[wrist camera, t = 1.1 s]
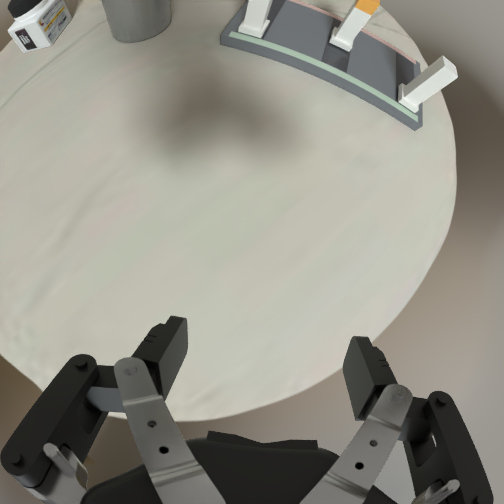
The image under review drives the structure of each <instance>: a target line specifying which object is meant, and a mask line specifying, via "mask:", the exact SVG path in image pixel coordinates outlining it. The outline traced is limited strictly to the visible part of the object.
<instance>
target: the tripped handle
mask: <svg viewBox="0 0 504 504" xmlns="http://www.w3.org/2000/svg"><path fill="white" fill-rule="evenodd" d="M379 5H380V0H356V1H355V2H354V4H353V5H352V7H351V8H350V10H349V11H348V13H347V15H346V16H345V18H344V19H343V21H342V22H341V24H340V26H339V27H338V28H336V27H334V29H333V31H332V34H331V38H330V41H329V43H331V44H334V45H336V46H338V47H340V48H342V49H344V50H346V51H348V52H349V51H350V50H351V49H352V45H353V40H354V38H355V37H356V36H357V34H358V33H359V32H360V30H361V29H362V28H363V26H364V25H365V23H366V22H367V21H368V19H369V18H370V17H371V15H372V14H373V13H374V12H375V10H376V9H377V8H378V6H379Z"/></svg>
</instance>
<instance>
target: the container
mask: <svg viewBox="0 0 504 504" xmlns="http://www.w3.org/2000/svg"><path fill="white" fill-rule="evenodd" d="M8 10H9V11H10V13H11V14H12V16H13V18H14V19H15V22H14V23H13V24H12V26H11V27H10V28H9V30H8V32H9V34H10V35H11V37H12V38H13V39H14V41H15V42H16V43H17V45H18V46H19V48H20V49H21V50H22V52H23V53H26V52H30V51H33V50H37V49H41V48H46V47H50V46H52V45H53V43H54V42H55V41H56V39H57V38H58V36H59V35H60V34H61V32H62V31H63V30H64V28H65V27H66V26H67V24H68V23H69V22H70V21H71V19H72V17H71V15H70V13H69V10H68V8H67V6H66V4H65V1H64V0H11V2H10V3H9V5H8Z"/></svg>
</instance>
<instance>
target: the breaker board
mask: <svg viewBox="0 0 504 504" xmlns="http://www.w3.org/2000/svg"><path fill="white" fill-rule="evenodd" d="M342 21H343V18H341V17H339V16H337V15H334V14H332V13H330V12H328V11H325V10H323V9H320V8H318V7H315V6H313V5H310V4H307V3H305V2H302V1H299V0H247V1H246V2H245V3H244V5H243V6H242V7H241V9H240V10H239V11H238V12H237V14H236V15H235V16H234V18H233V19H232V20H231V22H230V23H229V24H228V26H227V27H226V29H225V30H224V31H223V33H222V34H221V39H220V44H221V45H225V46H229V47H233V48H236V49H240V50H244V51H247V52H250V53H254V54H257V55H260V56H263V57H266V58H269V59H272V60H275V61H278V62H281V63H284V64H286V65H289V66H292V67H294V68H297V69H299V70H302V71H304V72H307V73H309V74H311V75H314V76H316V77H318V78H321V79H323V80H325V81H327V82H329V83H332V84H334V85H336V86H338V87H340V88H342V89H344V90H346V91H348V92H350V93H352V94H354V95H356V96H358V97H360V98H361V99H363V100H365V101H367V102H369V103H370V104H372V105H374V106H376V107H377V108H379V109H381V110H383V111H384V112H386V113H388V114H389V115H391V116H392V117H394V118H396V119H397V120H399V121H400V122H402V123H403V124H405V125H407V126H408V127H410V128H411V129H412V130H414V131H415V130H417V129H419V128H420V127H422V102H423V101H425V100H426V99H427V98H429V97H430V96H432V95H433V94H435V93H436V92H437V91H439V90H440V89H442V88H443V87H445V86H446V85H447V84H449V83H450V82H452V81H453V80H455V79H456V78H458V75H457V71H456V66H454V65H453V64H452V63H451V62H450V61H449V60H447V59H446V58H445V57H444V56H441V57H440V58H439V59H438V60H437V61H435V62H434V63H433V64H432V65H430V66H429V67H428V68H427V69H425V70H424V71H423V72H422V73H421V71H420V63H418V62H417V61H416V60H414V59H413V58H411V57H410V56H408V55H407V54H405V53H404V52H402V51H401V50H399V49H398V48H396V47H395V46H393V45H391V44H390V43H388V42H386V41H385V40H383V39H381V38H380V37H378V36H376V35H374V34H373V33H371V32H369V31H367V30H365V29H363V28H362V29H361V30H360V32H359V33H358V34H357V36H356V37H355V38H354V40H353V45H352V49H351V50H350V51H349V52H348V51H346V50H344V49H342V48H340V47H338V46H336V45H334V44H331V43H329V41H330V38H331V34H332V31H333V29H334V27H336V28H338V27H339V26H340V24H341V22H342Z"/></svg>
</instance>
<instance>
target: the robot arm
mask: <svg viewBox="0 0 504 504" xmlns="http://www.w3.org/2000/svg"><path fill="white" fill-rule="evenodd" d="M102 3H103V7H104V10H105V13H106V16H107V19H108V22H109V25H110V28H111V31H112V34H113V37H114V38H115V39H116V40H118V41H121V42H137V41H142V40H145V39H148V38H151V37H153V36H155V35H157V34H159V33H160V32H162V31H163V30H164V29H166V27H167V26H168V25H169V24H170V22H171V10H170V0H102ZM187 349H188V332H187V319H186V318H183V317H177V316H170V318H169V319H168V320H167V322H166V323H165V324H158V325H156V326H155V327H153V328H152V329H151V330H150V331H149V333H148V334H147V335H146V337H145V338H144V341H142V342H141V344H140V345H139V347H138V348H137V349H136V351H135V352H134V354H133V355H132V356H131V357H127V358H123V359H121V360H119V361H117V362H116V364H115V365H114V366H103V365H97V363H96V360H95V359H94V358H93V357H92V356H90V355H87V354H80V355H76V356H74V357H72V358H71V359H70V360H69V361H68V362H67V363H66V364H65V365H64V367H63V368H62V369H61V370H60V372H59V373H58V374H57V375H56V377H55V378H54V379H53V380H52V382H51V383H50V384H49V385H48V387H47V388H46V389H45V391H44V392H43V393H42V395H41V396H40V397H39V398H38V400H37V401H36V403H35V404H34V405H33V406H32V408H31V409H30V410H29V412H28V413H27V415H26V416H25V417H24V419H23V420H22V421H21V423H20V424H19V426H18V427H17V429H16V430H15V431H14V433H13V434H12V436H11V437H10V439H9V440H8V442H7V443H6V445H5V446H4V448H3V450H2V452H1V457H0V458H1V463H2V466H3V467H4V469H5V470H6V471H7V472H8V473H9V474H10V475H11V476H12V477H14V479H16V481H17V482H18V483H19V484H20V485H21V486H22V487H24V488H25V489H26V490H27V491H28V492H30V493H31V494H32V495H33V496H35V497H36V498H38V499H40V500H41V501H42V502H43V503H45V504H397V503H396V502H395V501H393V500H392V499H391V498H389V497H388V496H387V495H386V494H384V493H383V492H382V491H381V490H379V489H378V488H377V487H375V486H374V485H373V483H374V482H375V480H376V478H377V477H378V475H379V473H380V472H381V470H382V468H383V466H384V464H385V463H386V461H387V459H388V457H389V455H390V453H391V451H392V449H393V447H394V445H395V443H396V441H397V440H401V441H403V444H404V448H405V452H406V456H407V460H408V464H409V468H410V473H411V477H412V482H413V486H414V491H415V496H416V498H415V499H414V500H413V501H412V503H411V504H493V494H492V491H491V487H490V484H489V482H488V479H487V476H486V473H485V471H484V468H483V465H482V463H481V460H480V458H479V455H478V453H477V450H476V448H475V445H474V444H473V441H472V439H471V436H470V434H469V432H468V430H467V428H466V425H465V423H464V421H463V419H462V417H461V415H460V413H459V411H458V409H457V407H456V405H455V403H454V401H453V399H452V398H451V396H450V395H448V394H447V393H445V392H442V391H434V392H432V393H431V394H430V395H429V397H428V398H427V399H424V398H417V397H413V396H412V393H411V392H410V390H409V389H408V388H406V387H404V386H403V385H399V384H398V383H397V381H396V379H395V377H394V375H393V372H392V370H391V369H390V367H389V364H388V362H387V361H386V358H385V356H384V354H383V352H382V351H380V350H379V349H378V348H377V347H373V346H372V344H371V342H370V340H369V338H368V337H360V336H353V337H352V339H351V341H350V344H349V347H348V350H347V353H346V356H345V359H344V363H343V374H344V378H345V381H346V385H347V389H348V392H349V396H350V400H351V404H352V408H353V412H354V416H355V420H356V421H364V423H363V425H362V426H361V428H360V429H359V431H358V432H357V433H356V435H355V436H354V438H353V439H352V441H351V442H350V444H349V445H348V446H347V448H346V449H345V450H344V452H343V453H342V454H341V456H338V455H337V454H335V453H333V452H331V451H329V450H326V449H323V448H319V447H318V444H317V440H286V441H279V442H271V443H260V442H256V441H253V440H250V439H247V438H244V437H241V436H238V435H234V434H226V433H220V432H214V431H209V432H208V436H207V437H206V438H205V437H204V438H195V439H190V440H187V441H185V440H184V438H183V437H182V435H181V433H180V431H179V430H178V427H177V425H176V424H175V422H174V420H173V418H172V416H171V414H170V412H169V410H168V408H167V406H166V404H165V400H166V398H167V396H168V393H169V391H170V389H171V387H172V385H173V382H174V380H175V378H176V376H177V374H178V372H179V369H180V367H181V365H182V363H183V361H184V359H185V356H186V354H187ZM109 412H123V413H126V416H127V419H128V422H129V425H130V428H131V430H132V433H133V436H134V439H135V441H136V444H137V447H138V449H139V452H140V454H141V457H142V459H143V462H144V463H142V464H140V465H139V466H137V467H134V468H132V469H130V470H128V471H126V472H124V473H122V474H120V475H118V476H115V477H113V478H111V479H109V480H106V481H104V482H102V483H99V484H97V485H95V486H93V487H92V488H90V489H89V490H87V480H88V473H87V470H86V469H85V467H84V466H83V463H84V461H85V459H86V456H87V454H88V452H89V450H90V448H91V446H92V444H93V442H94V440H95V438H96V436H97V434H98V432H99V430H100V428H101V426H102V424H103V423H104V421H105V419H106V417H107V415H108V413H109ZM432 435H434V438H435V441H436V447H435V444H434V441H433V438H432Z"/></svg>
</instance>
